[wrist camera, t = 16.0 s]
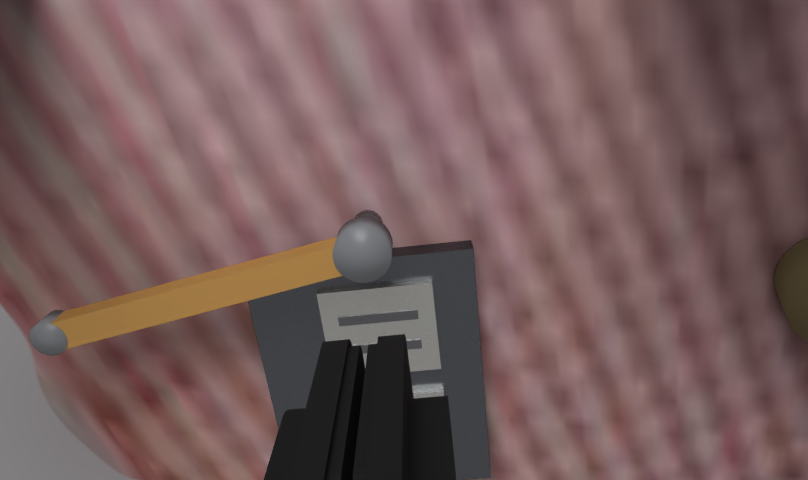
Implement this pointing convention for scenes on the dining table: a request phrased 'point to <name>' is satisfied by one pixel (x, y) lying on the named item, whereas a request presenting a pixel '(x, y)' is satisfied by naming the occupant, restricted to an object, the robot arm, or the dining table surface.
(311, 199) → the dining table surface
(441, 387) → the label base
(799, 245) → the squeeze bottle
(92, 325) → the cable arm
